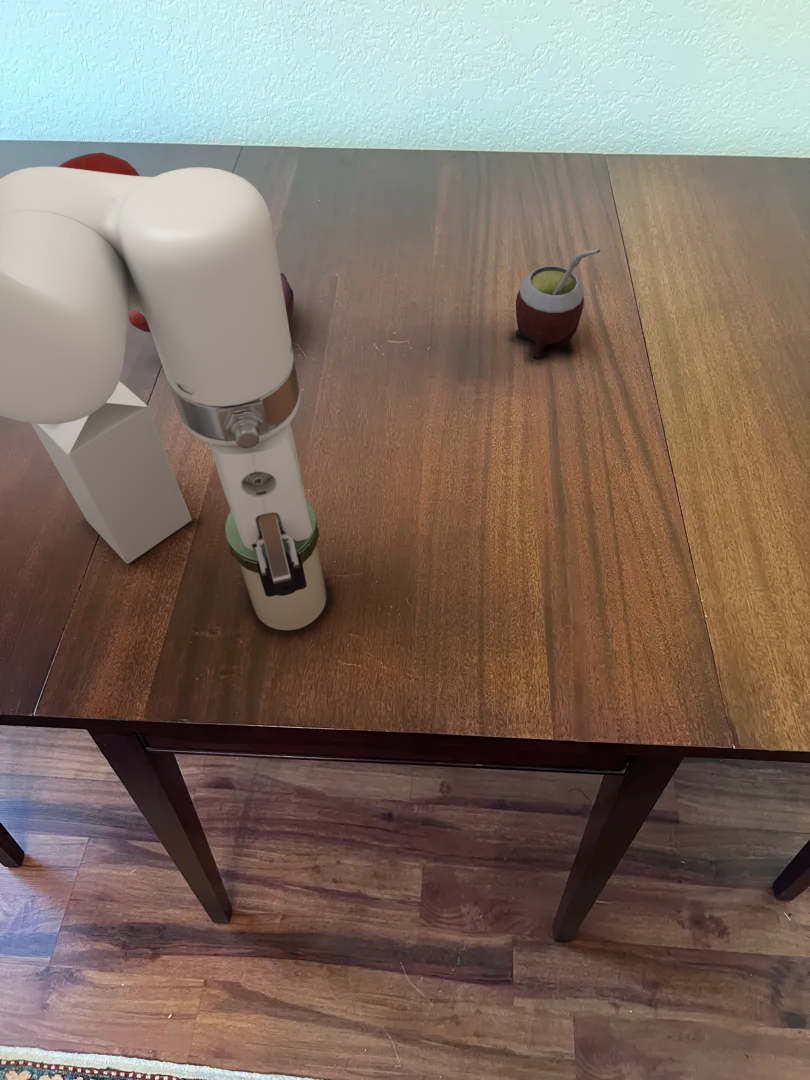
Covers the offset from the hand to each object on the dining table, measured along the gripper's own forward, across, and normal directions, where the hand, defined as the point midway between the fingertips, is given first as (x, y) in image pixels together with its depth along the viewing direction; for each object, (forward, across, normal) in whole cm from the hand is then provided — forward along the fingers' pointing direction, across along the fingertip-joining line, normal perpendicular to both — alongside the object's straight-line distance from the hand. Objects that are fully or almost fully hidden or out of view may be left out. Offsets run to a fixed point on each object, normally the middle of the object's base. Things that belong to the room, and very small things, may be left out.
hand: (277, 549), depth 62 cm
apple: (+8, +53, +11) cm, 54 cm away
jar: (+8, 0, 0) cm, 8 cm away
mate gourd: (+8, +25, -34) cm, 42 cm away
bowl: (+8, +34, 0) cm, 35 cm away
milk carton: (+8, +12, +12) cm, 19 cm away
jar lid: (-3, 0, 0) cm, 3 cm away
